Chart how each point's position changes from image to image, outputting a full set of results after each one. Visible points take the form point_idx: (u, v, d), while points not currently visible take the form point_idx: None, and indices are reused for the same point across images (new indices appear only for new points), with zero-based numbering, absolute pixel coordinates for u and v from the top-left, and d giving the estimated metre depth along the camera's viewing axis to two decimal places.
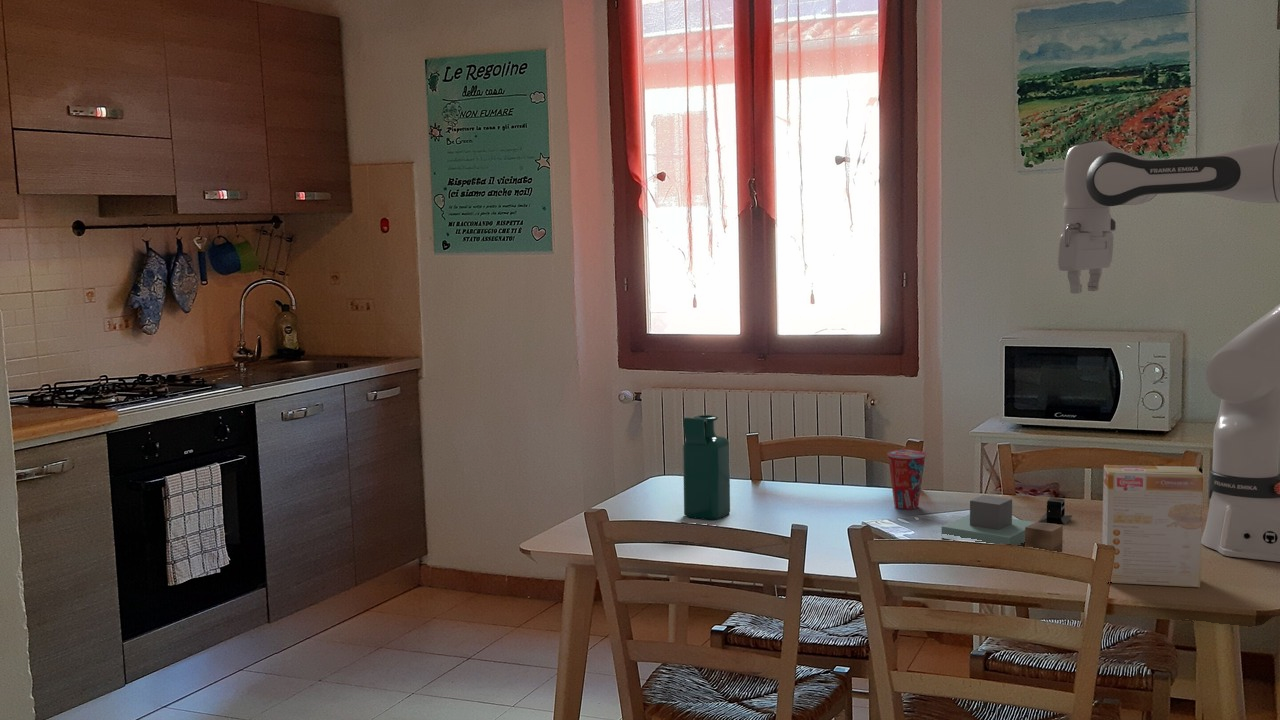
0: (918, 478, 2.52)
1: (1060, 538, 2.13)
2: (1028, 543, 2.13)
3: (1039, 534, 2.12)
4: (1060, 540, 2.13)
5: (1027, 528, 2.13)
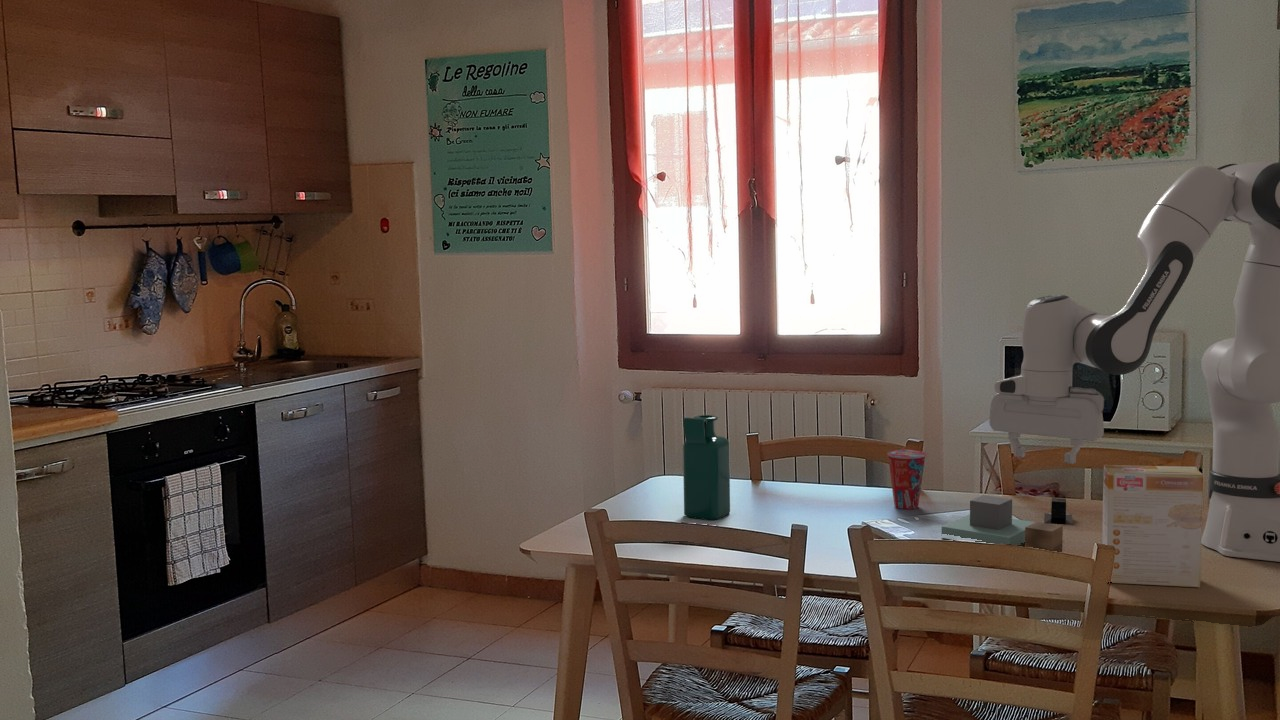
0: (918, 478, 2.52)
1: (1060, 538, 2.13)
2: (1028, 543, 2.13)
3: (1038, 534, 2.12)
4: (1060, 540, 2.13)
5: (1027, 528, 2.13)
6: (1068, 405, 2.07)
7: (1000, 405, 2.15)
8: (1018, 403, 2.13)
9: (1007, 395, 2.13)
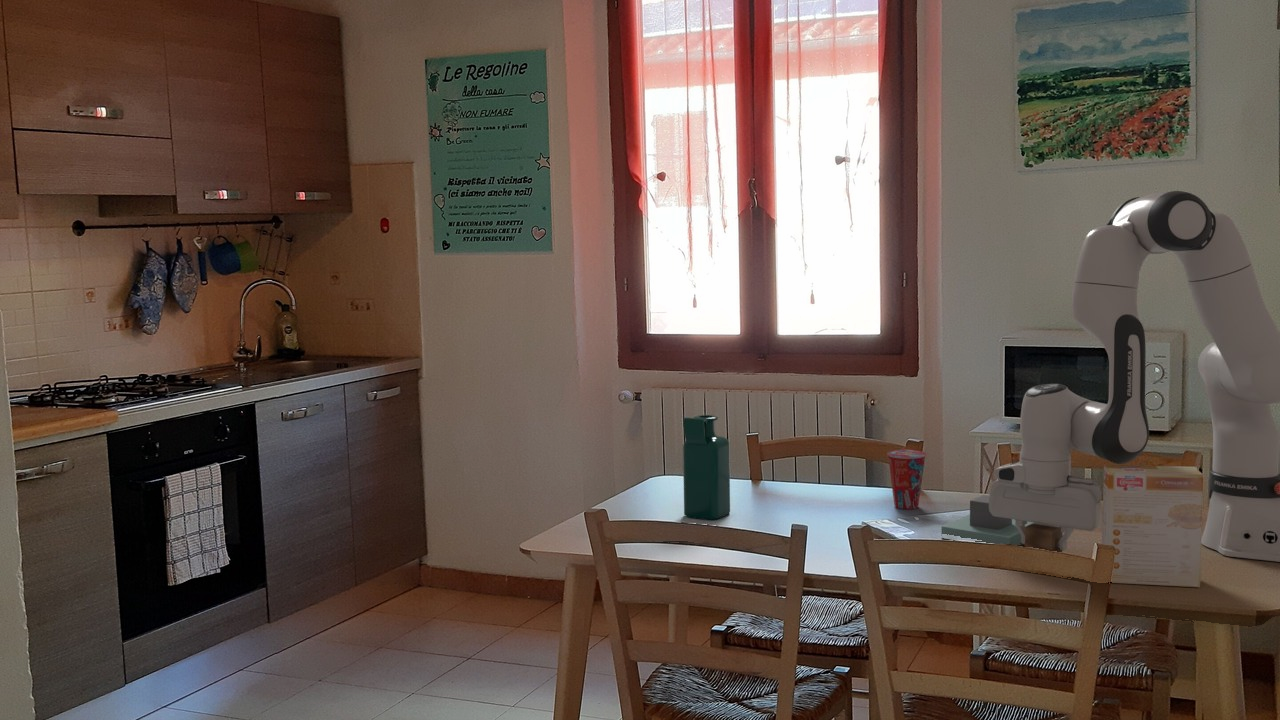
0: (918, 478, 2.52)
1: (1060, 538, 2.13)
2: (1028, 543, 2.13)
3: (1039, 534, 2.12)
4: None
5: (1027, 528, 2.13)
6: (1067, 495, 2.08)
7: (1000, 491, 2.17)
8: (1017, 490, 2.14)
9: (1006, 482, 2.15)
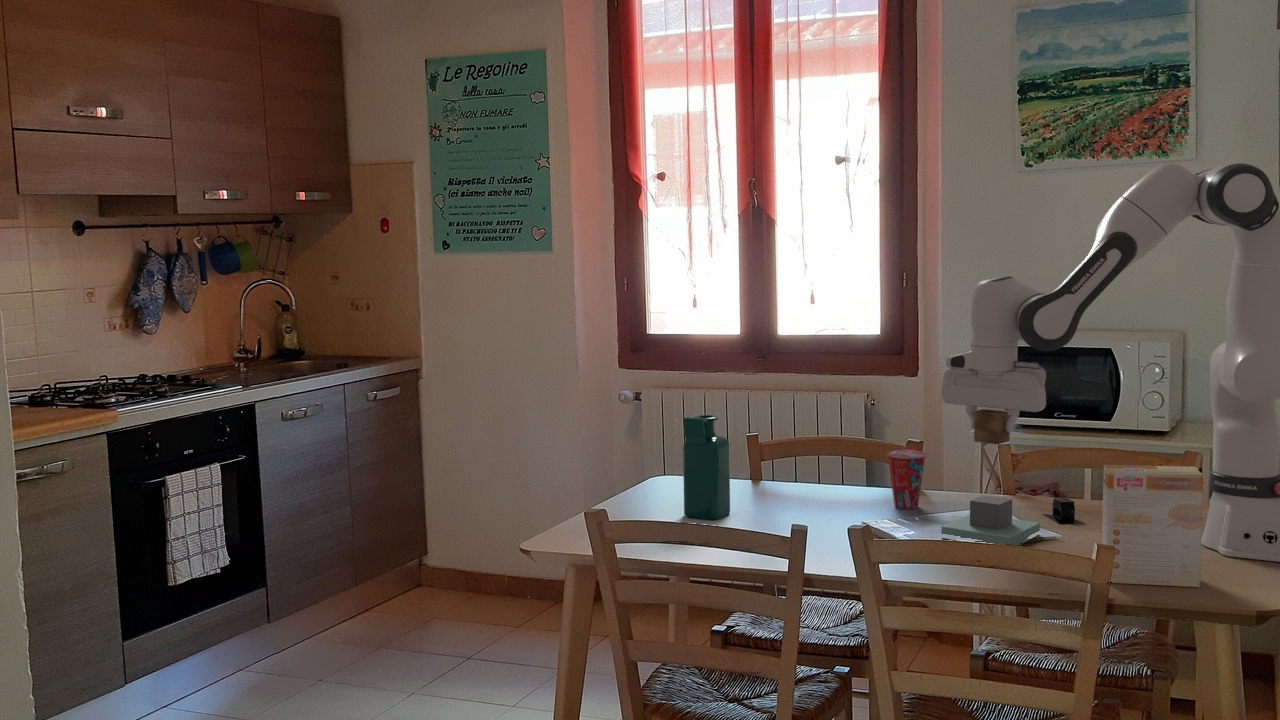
0: (918, 478, 2.52)
1: None
2: (977, 426, 2.26)
3: (987, 417, 2.25)
4: None
5: (976, 412, 2.26)
6: (1013, 379, 2.21)
7: (951, 379, 2.29)
8: (968, 377, 2.27)
9: (957, 370, 2.28)
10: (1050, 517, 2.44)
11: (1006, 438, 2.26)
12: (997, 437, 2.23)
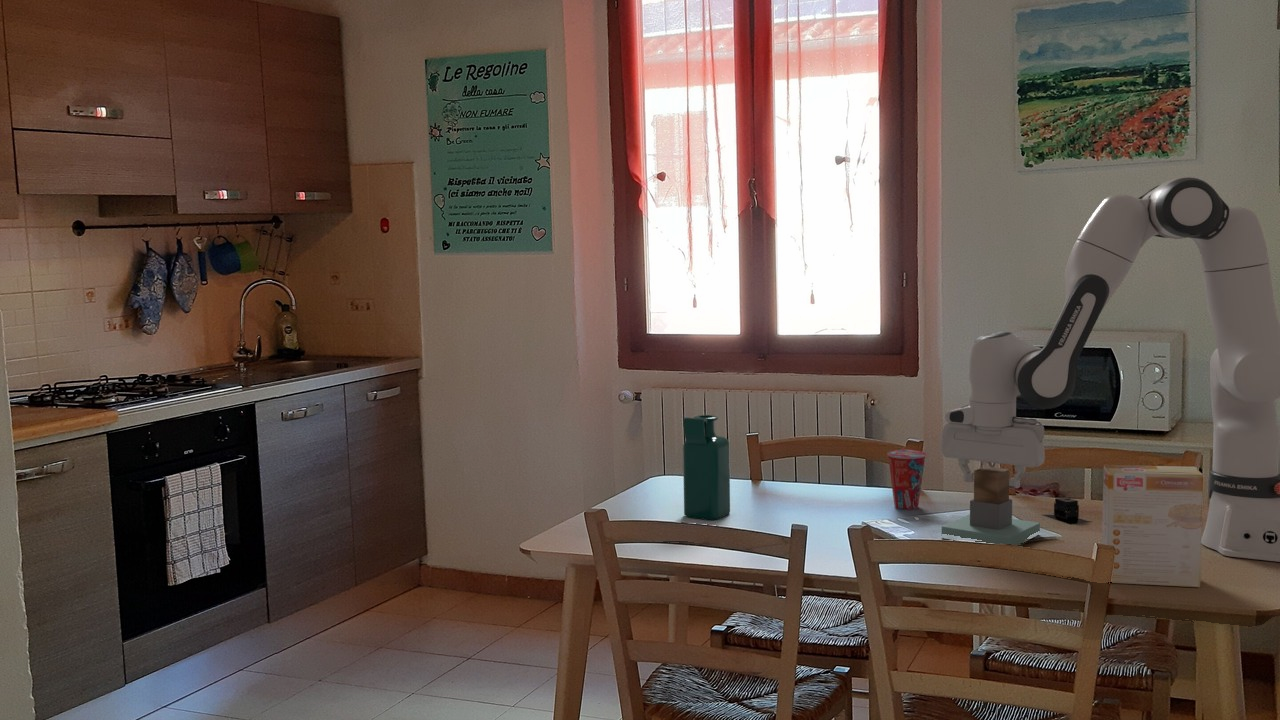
0: (918, 478, 2.52)
1: (1007, 481, 2.28)
2: (977, 485, 2.28)
3: (986, 477, 2.26)
4: (1007, 483, 2.28)
5: (976, 471, 2.27)
6: (1012, 434, 2.23)
7: (951, 433, 2.31)
8: (967, 431, 2.29)
9: (956, 424, 2.29)
10: (1053, 518, 2.43)
11: (1005, 497, 2.28)
12: (997, 497, 2.25)
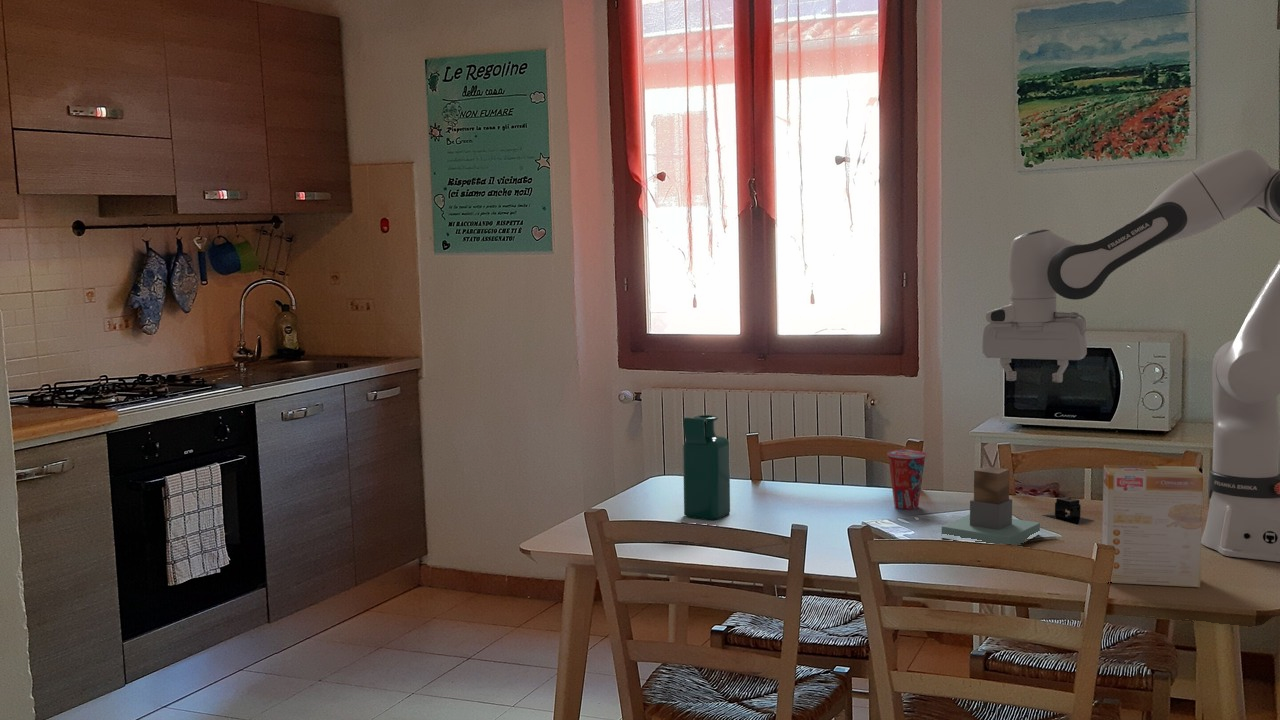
0: (918, 478, 2.52)
1: (1007, 481, 2.28)
2: (977, 485, 2.28)
3: (986, 477, 2.26)
4: (1007, 483, 2.28)
5: (976, 471, 2.27)
6: (1054, 329, 2.27)
7: (992, 334, 2.35)
8: (1008, 330, 2.33)
9: (998, 324, 2.33)
10: (1056, 518, 2.43)
11: (1005, 497, 2.28)
12: (997, 497, 2.25)
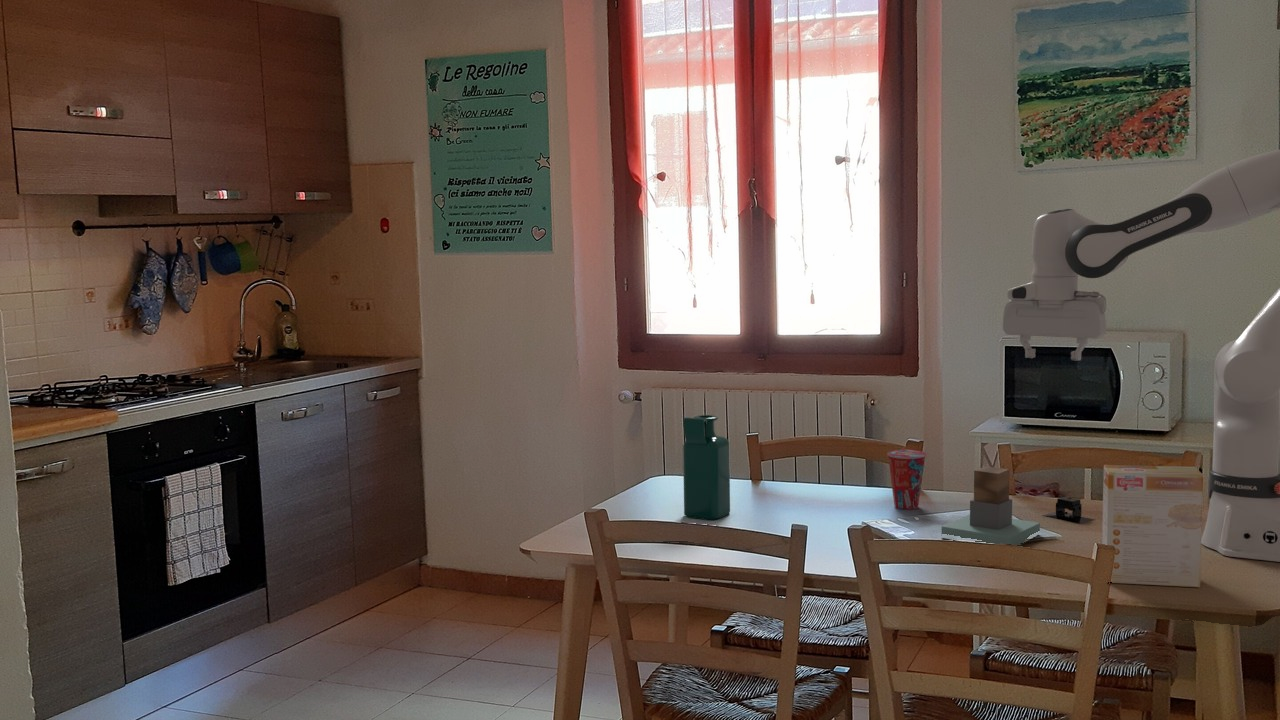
0: (918, 478, 2.52)
1: (1007, 481, 2.28)
2: (977, 485, 2.28)
3: (986, 477, 2.26)
4: (1007, 483, 2.28)
5: (976, 471, 2.27)
6: (1074, 307, 2.29)
7: (1013, 311, 2.38)
8: (1029, 307, 2.35)
9: (1019, 301, 2.36)
10: (1057, 518, 2.43)
11: (1005, 497, 2.28)
12: (997, 497, 2.25)
